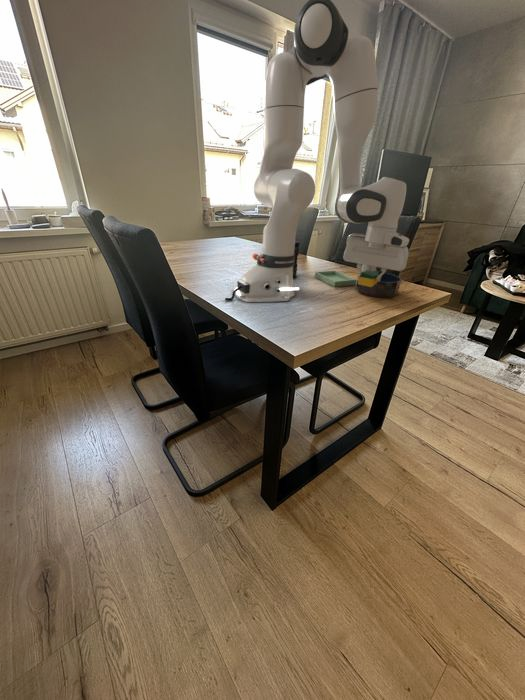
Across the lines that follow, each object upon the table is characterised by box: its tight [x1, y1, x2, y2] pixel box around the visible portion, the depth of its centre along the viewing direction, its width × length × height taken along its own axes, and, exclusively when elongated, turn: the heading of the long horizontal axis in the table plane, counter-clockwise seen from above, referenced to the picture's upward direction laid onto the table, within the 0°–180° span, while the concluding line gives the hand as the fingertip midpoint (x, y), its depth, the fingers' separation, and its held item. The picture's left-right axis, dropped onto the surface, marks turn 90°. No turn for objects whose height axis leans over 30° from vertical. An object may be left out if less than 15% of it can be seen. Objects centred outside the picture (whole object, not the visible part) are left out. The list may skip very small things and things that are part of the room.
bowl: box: [355, 270, 403, 299], centre depth 110 cm, size 16×16×6 cm
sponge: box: [358, 270, 379, 287], centre depth 97 cm, size 7×5×4 cm, turn 146°
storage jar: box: [293, 239, 300, 280], centre depth 122 cm, size 10×10×15 cm
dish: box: [314, 270, 357, 288], centre depth 122 cm, size 11×15×2 cm
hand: (368, 279), depth 97 cm, fingers closed on sponge, 4 cm apart
